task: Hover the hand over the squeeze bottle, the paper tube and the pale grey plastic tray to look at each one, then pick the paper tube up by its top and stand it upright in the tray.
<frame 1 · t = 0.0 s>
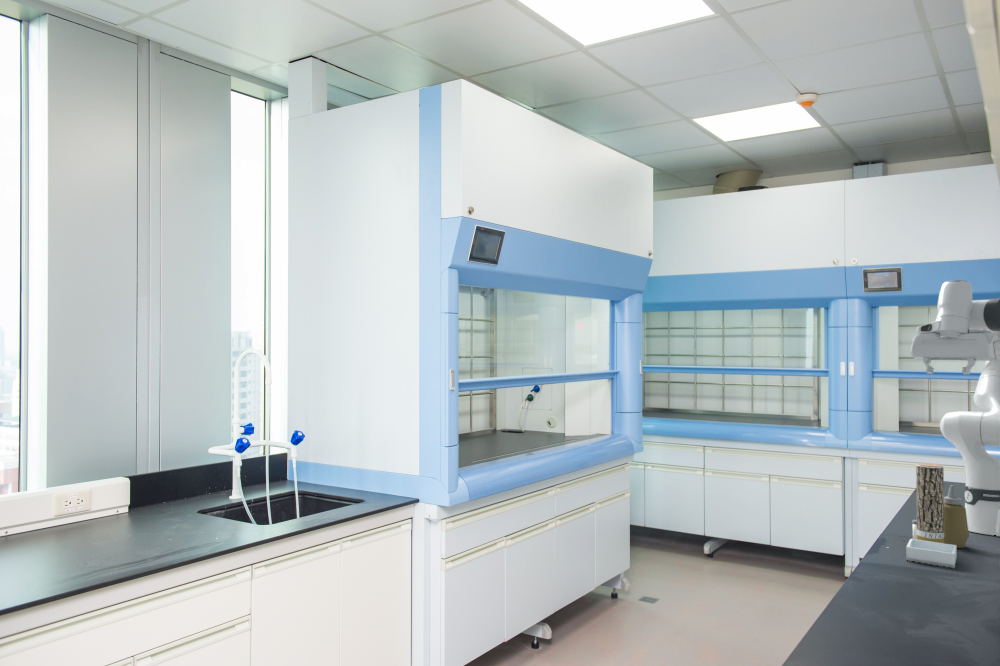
hand: (947, 373, 204), 52 cm above the countertop, tool tilted 20°, fingers open, 8 cm apart
tray: (931, 559, 191), on the countertop
sample vial: (918, 540, 212), on the countertop
squeeze bottle: (952, 546, 206), on the countertop
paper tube: (930, 550, 201), on the countertop
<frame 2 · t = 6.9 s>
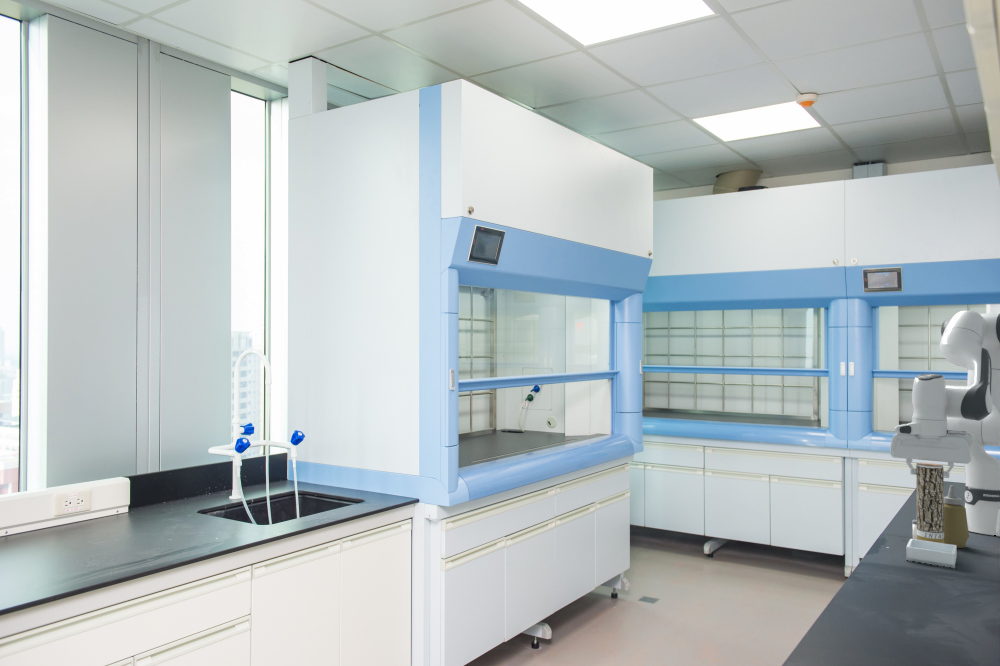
hand: (929, 475, 202), 22 cm above the countertop, tool pointing down, fingers closed on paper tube, 7 cm apart
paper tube: (930, 550, 201), on the countertop, touching gripper
everything else where it was.
when the fingers open (24 cm above the countertop, at t = 13.3 s): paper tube stays where it is, resting on tray.
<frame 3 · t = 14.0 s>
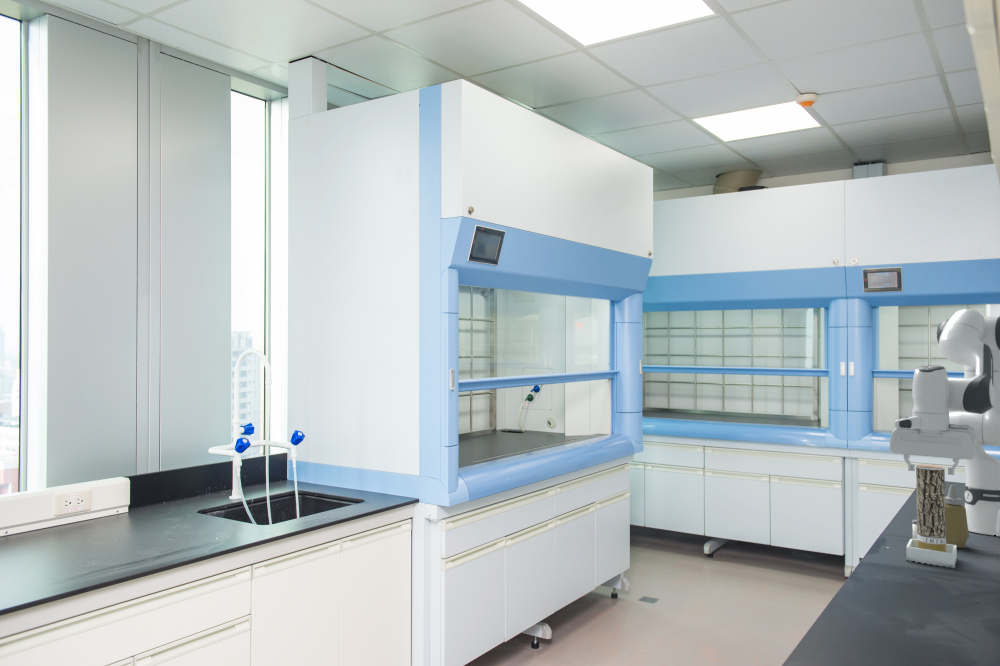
hand: (931, 472, 192), 24 cm above the countertop, tool pointing down, fingers open, 8 cm apart
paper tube: (931, 556, 192), point 1 cm above the countertop, touching tray
everything else where it was.
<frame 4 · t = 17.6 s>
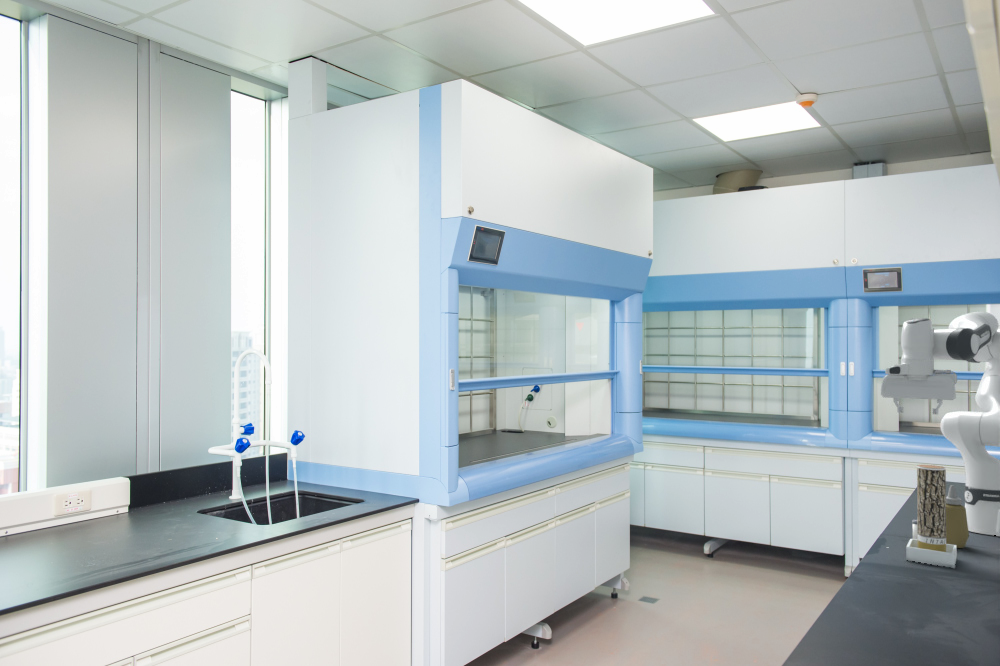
hand: (917, 413, 215), 39 cm above the countertop, tool pointing down, fingers open, 8 cm apart
nothing on the countertop moved.
at the end: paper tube 0.6 cm off-centre on the tray, point 0.6 cm above the tray's base; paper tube tilted 0°; squeeze bottle moved 0.2 cm from its start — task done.
